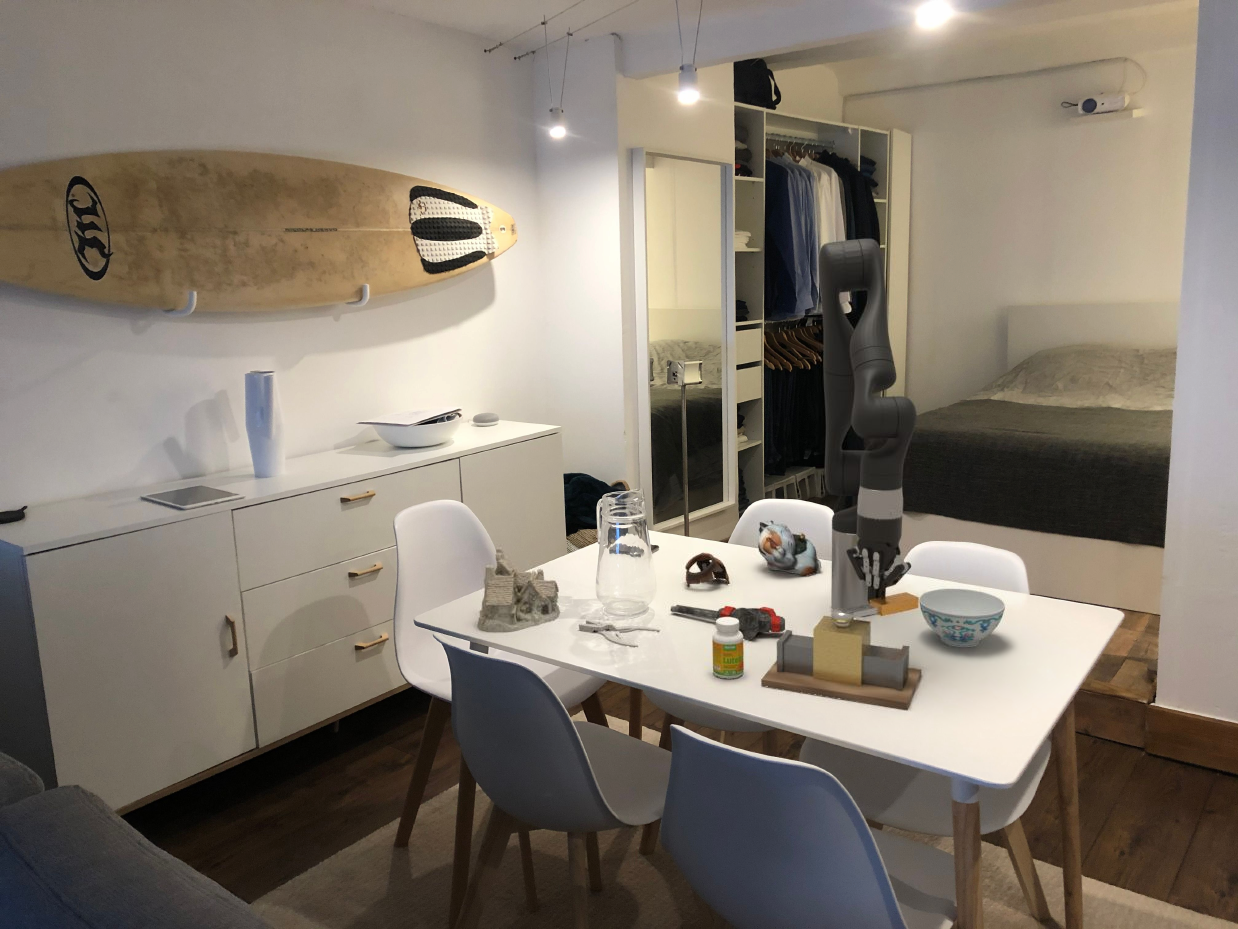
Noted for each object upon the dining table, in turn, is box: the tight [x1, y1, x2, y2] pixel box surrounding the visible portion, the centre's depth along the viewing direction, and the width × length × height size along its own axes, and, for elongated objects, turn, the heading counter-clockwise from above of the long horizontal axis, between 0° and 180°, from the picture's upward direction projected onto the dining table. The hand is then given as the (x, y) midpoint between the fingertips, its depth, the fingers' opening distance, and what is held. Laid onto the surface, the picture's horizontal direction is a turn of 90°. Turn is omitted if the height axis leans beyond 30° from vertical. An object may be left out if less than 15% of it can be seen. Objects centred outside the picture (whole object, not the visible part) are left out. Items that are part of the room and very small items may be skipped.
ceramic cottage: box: [477, 547, 561, 634], centre depth 195 cm, size 16×16×15 cm
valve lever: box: [830, 591, 920, 622], centre depth 161 cm, size 17×4×2 cm, turn 115°
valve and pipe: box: [776, 615, 910, 691], centre depth 160 cm, size 7×21×10 cm, turn 64°
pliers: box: [578, 619, 661, 648], centre depth 186 cm, size 10×2×15 cm
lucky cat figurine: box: [757, 519, 822, 577], centre depth 221 cm, size 15×12×14 cm
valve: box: [670, 604, 786, 641], centre depth 190 cm, size 6×26×15 cm
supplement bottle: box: [711, 617, 745, 680], centre depth 165 cm, size 5×5×10 cm
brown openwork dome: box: [684, 552, 731, 587], centre depth 215 cm, size 12×10×8 cm
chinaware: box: [919, 588, 1006, 648], centre depth 176 cm, size 15×15×8 cm
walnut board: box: [760, 660, 923, 711], centre depth 161 cm, size 14×24×1 cm, turn 64°
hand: (876, 606), depth 166 cm, fingers closed
